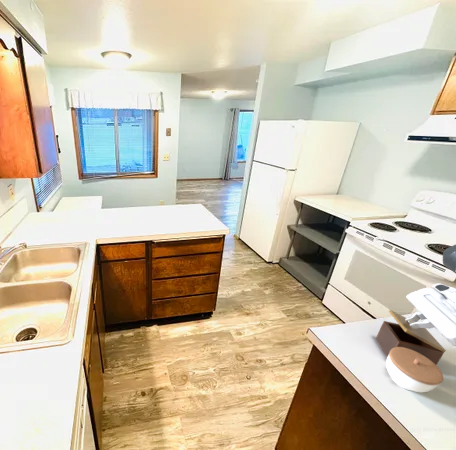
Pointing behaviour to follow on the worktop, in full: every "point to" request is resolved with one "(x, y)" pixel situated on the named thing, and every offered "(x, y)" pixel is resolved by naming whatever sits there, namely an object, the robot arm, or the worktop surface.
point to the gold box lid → (417, 331)
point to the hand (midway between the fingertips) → (408, 324)
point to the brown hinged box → (405, 342)
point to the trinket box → (413, 370)
